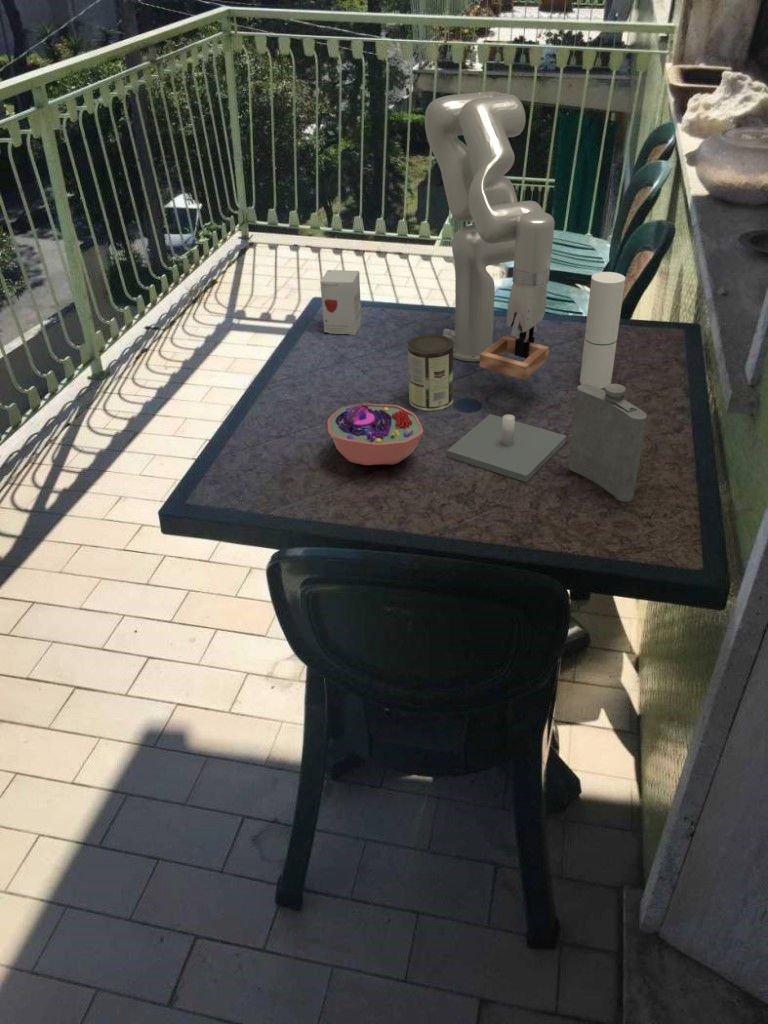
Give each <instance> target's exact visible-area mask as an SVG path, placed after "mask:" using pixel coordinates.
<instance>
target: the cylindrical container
mask: <svg viewBox="0 0 768 1024" xmlns="http://www.w3.org/2000/svg"><path fill="white" fill-rule="evenodd" d="M590 279H591V281H590V287H589V288H590V289H589V297H588V305H587V314H586V322H585V323H586V324H585V330H584V331H585V332H584V341H583V349H582V351H583V352H582V358H581V367H580V368H581V369H580V375H579V376H580V377H579V383H580V385H582V384H588V385H592V386H594V387H597V388H600V389H605V386H606V385H609V384H612V378H613V372H614V363H615V356H616V349H617V341H618V335H619V328H620V321H621V315H622V314H621V313H622V312H621V311H622V306H623V297H624V292H625V291H624V290H625V283H626V276H624V275H623V274H621V273H619V272H615V271H614V272H613V271H601V272H595V273H594V274H592V275H591V278H590Z"/></svg>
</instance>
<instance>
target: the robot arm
mask: <svg viewBox="0 0 768 1024" xmlns="http://www.w3.org/2000/svg"><path fill="white" fill-rule="evenodd" d="M526 121H527V120H526V111H525V108H524V105H523V103H522V102H521V100H520V99H519V98H518V97H517V96H516V95H513V94H510V93H504V92H498V91H492V90H491V91H481V92H480V91H479V92H471V93H459V94H458V93H457V94H451V95H450V94H449V95H444V96H441V97H438V98H436V99H434V100H432V101H431V102H430V103H429V104H428V106H427V107H426V110H425V114H424V128H425V134H426V139H427V141H428V145H429V147H430V150H431V152H432V153H433V155H434V158H435V160H436V162H437V164H438V167H439V169H440V173H441V179H442V182H443V188H444V191H445V196H446V199H447V205H448V208H449V211H450V214H451V217H452V218H453V219H454V220H455V221H457V222H461V223H463V222H465V223H466V222H472V221H473V224H469V225H466V226H464V227H461V228H459V229H458V230H456V231H455V233H454V234H453V236H452V238H451V250H452V257H453V263H454V275H455V276H454V277H455V282H454V283H455V285H454V286H455V287H454V288H455V291H454V292H455V299H454V301H455V303H454V304H455V305H454V306H455V307H454V310H455V311H454V320H455V321H454V330H453V329H451V328H450V329H449V328H444V330H443V332H442V336H446V337H448V338H450V339H452V340H453V342H454V348H453V359H455V360H458V361H463V362H470V363H471V362H472V363H473V362H480V354H481V353H482V352H484V351H485V350H486V349H488V348H489V347H490V346H491V345H493V344H494V343H495V342H494V341H493V339H494V314H495V312H494V311H495V291H496V289H495V288H496V287H495V286H496V285H495V280H494V278H493V277H492V275H491V274H490V273H489V272H488V271H487V267H488V266H493V265H497V264H503V263H509V262H513V270H512V283H513V284H512V285H511V289H510V293H509V297H508V298H509V299H508V305H507V312H506V318H505V319H506V321H505V327H506V328H507V329H512V330H511V333H510V337H513V338H515V340H516V341H515V353H514V354H513V355H514V356H515V357H519V358H523V359H527V358H528V356H529V345H530V342H531V343H535V336H536V334H537V328H538V327H537V326H538V323H539V322H541V321H542V320H543V318H544V317H545V313H546V308H547V295H548V294H547V293H548V284H549V281H550V271H551V263H552V262H551V261H552V252H553V243H554V234H555V226H556V225H555V224H556V222H555V219H554V217H553V215H551V214H550V213H548V212H545V211H544V210H543V208H542V206H541V205H540V204H539V203H538V202H537V201H534V200H524V201H518V198H517V197H518V196H517V194H516V193H517V192H516V189H515V186H514V185H513V182H512V181H511V180H510V179H509V178H508V177H507V176H505V175H506V174H507V173H508V172H509V171H510V170H511V169H512V167H513V165H514V163H515V153H514V150H513V148H512V145H511V143H510V140H509V138H514V137H518V136H519V135H521V133H522V132H523V130H524V129H525V125H526ZM458 136H463V139H464V142H465V143H464V142H463V141H462V140H460V139H459V137H458Z"/></svg>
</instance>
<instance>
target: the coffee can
mask: <svg viewBox="0 0 768 1024" xmlns="http://www.w3.org/2000/svg"><path fill="white" fill-rule="evenodd" d="M453 348H454V342H453V340H452V339H450V338H448V337H446V336H443V334H421V335H418V336H414V337H412V338H410V339H408V341H407V343H406V349H407V364H408V365H407V366H408V367H407V368H408V396H409V397H408V403H409V405H410V406H411V407H412V408H415V409H417V410H421V411H426V412H427V411H428V412H436V411H441V410H445V409H447V408H449V407H450V406H451V405H452V404H453V403H454V357H453Z"/></svg>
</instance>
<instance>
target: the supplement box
mask: <svg viewBox="0 0 768 1024" xmlns="http://www.w3.org/2000/svg"><path fill="white" fill-rule="evenodd" d="M360 279H361V278H360V271H359V270H344V269H342V270H341V269H340V270H339V269H338V270H337V269H327V270H326V272H325V273H324V275H323V276H322V278H321V279H320V281H319V282H320V293H321V294H320V295H321V296H320V297H321V307H322V320H323V331H324V332H328V333H334V334H350V335H349V336H356V335H357V334H358V332H357V331H359V330H358V329H360V328H361V325H362V323H361V322H362V305H361V303H362V302H361V287H360V285H361V283H360V281H361V280H360ZM324 332H323V333H324ZM356 333H357V334H356Z"/></svg>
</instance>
